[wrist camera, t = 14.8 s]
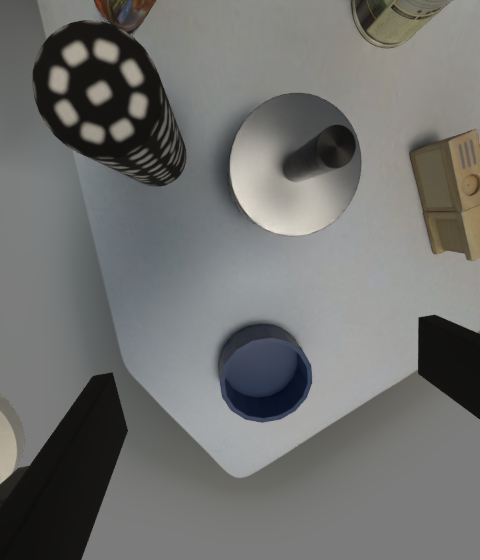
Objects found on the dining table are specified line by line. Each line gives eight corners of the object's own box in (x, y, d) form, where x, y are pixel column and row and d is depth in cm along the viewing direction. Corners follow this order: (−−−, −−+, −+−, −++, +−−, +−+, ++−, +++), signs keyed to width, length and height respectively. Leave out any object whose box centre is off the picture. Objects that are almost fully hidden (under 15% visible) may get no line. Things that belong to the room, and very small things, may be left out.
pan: (225, 405, 48) (226, 428, 43) (213, 331, 45) (214, 346, 40) (303, 392, 49) (314, 413, 44) (297, 318, 46) (309, 331, 41)
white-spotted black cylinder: (164, 107, 38) (115, -7, 18) (197, 167, 40) (185, 121, 20) (109, 140, 38) (4, 62, 19) (145, 197, 40) (84, 181, 21)
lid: (237, 242, 33) (250, 256, 22) (220, 103, 30) (226, 41, 19) (358, 227, 34) (426, 233, 23) (354, 90, 31) (432, 24, 20)
